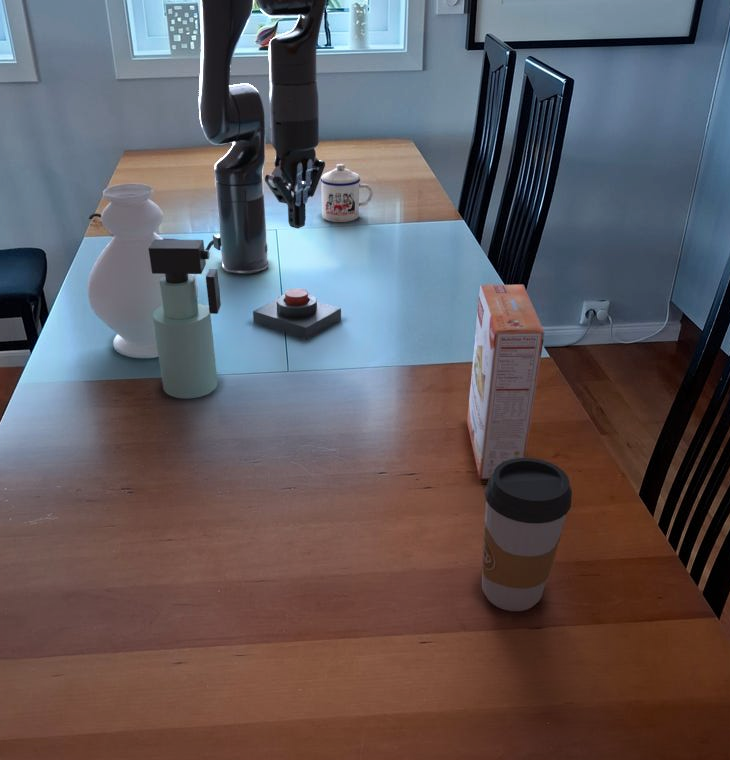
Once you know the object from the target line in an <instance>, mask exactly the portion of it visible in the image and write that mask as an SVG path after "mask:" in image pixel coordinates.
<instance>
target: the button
mask: <svg viewBox="0 0 730 760" xmlns="http://www.w3.org/2000/svg"><path fill="white" fill-rule="evenodd" d="M284 294H285V303H286V304H289V305H303V304H306V303H308V294H309V291H308V290H307V289H306V288H301V287H295V288H294V287H293V288H290V289H287V290H286V291H285V292H284Z"/></svg>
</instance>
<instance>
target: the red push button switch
mask: <svg viewBox="0 0 730 760" xmlns="http://www.w3.org/2000/svg"><path fill="white" fill-rule="evenodd" d="M252 316H253V323H254V324H258V325H260V326H263V327H265V328H266V327H267V328H269V329H273V330H276V331H278V332H282V333H285V334H288V335H291V336H294V337H297V338H300V339H304V340H309V339H310V338H312V337H313V336H315V335H317V334H319V333H321V332H323V331H324V330H326V329H328V328H329V327H332V326H333V325H335V324H336V323H338V322H340V321H341V320H342V308H341V307H337V306H334V305H331V304H327V303H325V302H324V303H323V302H321V301H318V298H317V297H316V296H315V295H314V294H311V293H308V303H306V304H303V305H289V304H286V303H285V293H284V294H282V295H279V296H278V298H276V299H274V300H272V301H270V302H268V303H266V304H264V305H263V306H260V307H258V308H257V309H253V311H252Z"/></svg>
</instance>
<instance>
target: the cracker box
mask: <svg viewBox="0 0 730 760" xmlns="http://www.w3.org/2000/svg"><path fill="white" fill-rule="evenodd" d="M475 326H476V327H475V337H474V346H473V356H472V365H471V377H470V387H469V399H468V409H467V420H466V424H467V429H468V432H469V437H470V438H469V439H470V441H471V446H472V451H473V455H474V460H475V461H474V462H475V465H476V470H477V475H478V478H479V480H489V477H490V476H491V475H492V474H493V472H494V470H495V468H496V467H497V466H498V465H499V464H501V463H502V462H504V461H507V460H510V459H516V458H527V449H528V442H529V437H530V430H531V423H532V416H533V410H534V405H535V404H534V403H535V397H536V391H537V383H538V377H539V373H540V372H539V371H540V365H541V358H542V352H543V345H544V341H545V330H544V328H543V326H542V323H541V320H540V319H539V317H538V314H537V312H536V310H535V307H534V305H533V303H532V301H531V299H530V296H529V294H528V292H527V290H526V287H525V285H524V284H482V285H479V292H478V303H477V314H476V325H475Z"/></svg>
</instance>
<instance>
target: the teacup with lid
mask: <svg viewBox="0 0 730 760" xmlns="http://www.w3.org/2000/svg"><path fill="white" fill-rule="evenodd" d="M360 181H361V176H360V174H358V173H357V172H354V171H351V170H350V169H348V168H346V165H345V164H344V163H338V164H336V166H335V168H333V169H331V170H330V171H328V172H325V173H322V175H321V178H320V182H321V217H322V218H323V219H325V220H326V221H328V222H335V223H347V222H351V221H355V220H357V219H358V218H359V216H360V208H361V207H365V206H368V205H369V203H371V201H372V199H373V195H374V193H373V192H374V191H373V188H372V186H371V185H369V184H367V183H360ZM361 188H362V189H363V188H365V189H367V190H368V191H369V195H368V198H367V199H366V201H363V202H360V189H361Z"/></svg>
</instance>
